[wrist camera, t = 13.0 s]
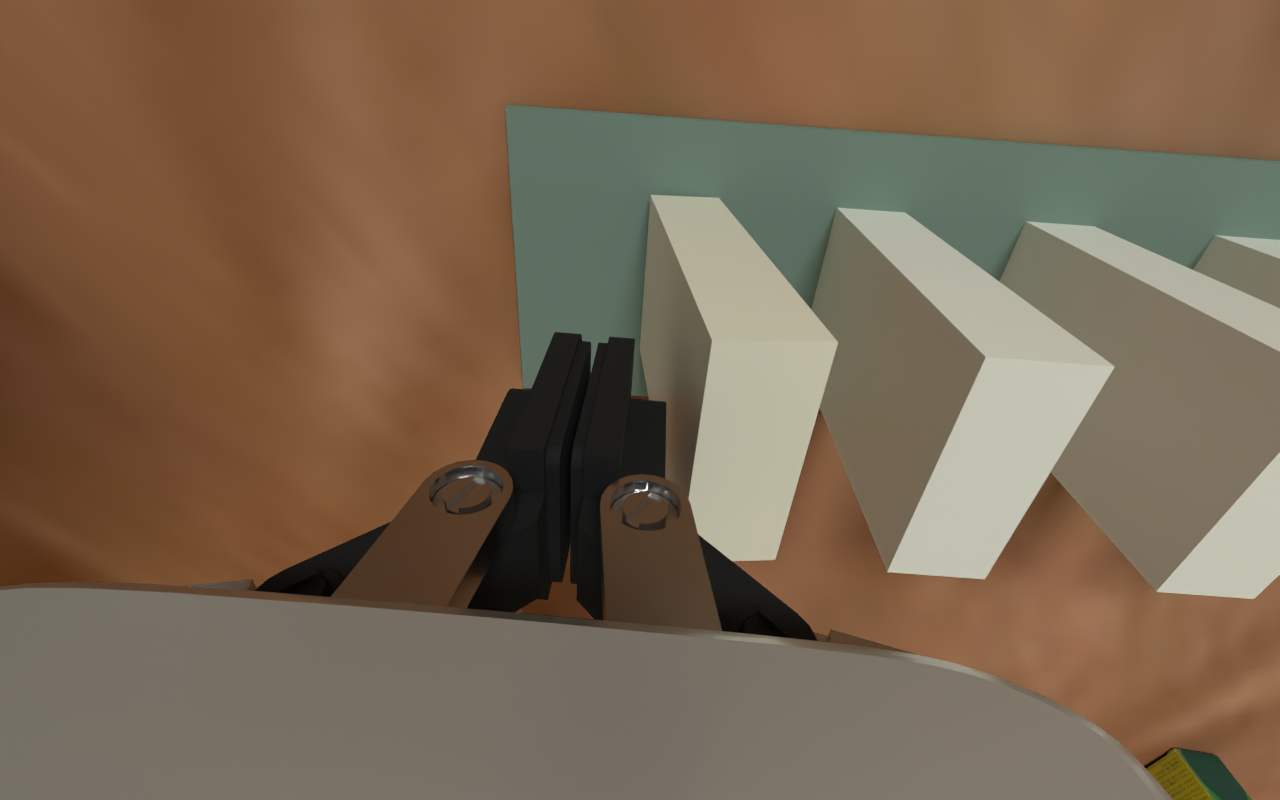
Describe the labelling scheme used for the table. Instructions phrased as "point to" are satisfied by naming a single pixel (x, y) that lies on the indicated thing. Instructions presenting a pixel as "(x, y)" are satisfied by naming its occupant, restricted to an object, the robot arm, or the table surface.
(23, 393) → the table surface
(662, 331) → the domino
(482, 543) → the robot arm
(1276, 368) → the domino
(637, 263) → the plate
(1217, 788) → the crayon box
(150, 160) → the table surface
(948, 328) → the domino
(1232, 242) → the domino
